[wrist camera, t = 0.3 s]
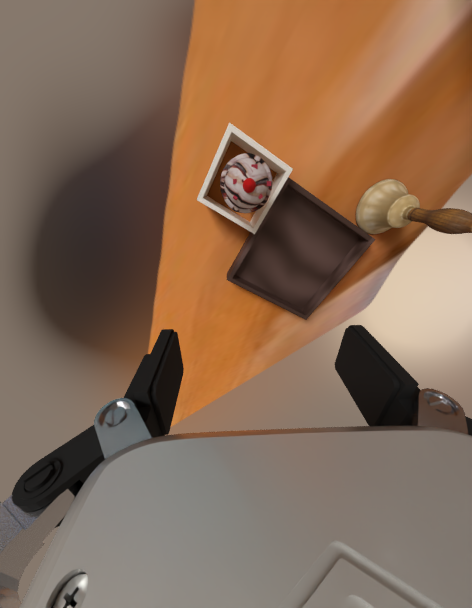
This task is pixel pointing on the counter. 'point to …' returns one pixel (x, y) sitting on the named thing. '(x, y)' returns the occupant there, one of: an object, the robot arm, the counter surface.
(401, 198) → the hand bell
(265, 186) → the ice cream cone
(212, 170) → the frame
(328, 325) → the counter surface
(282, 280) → the tray
